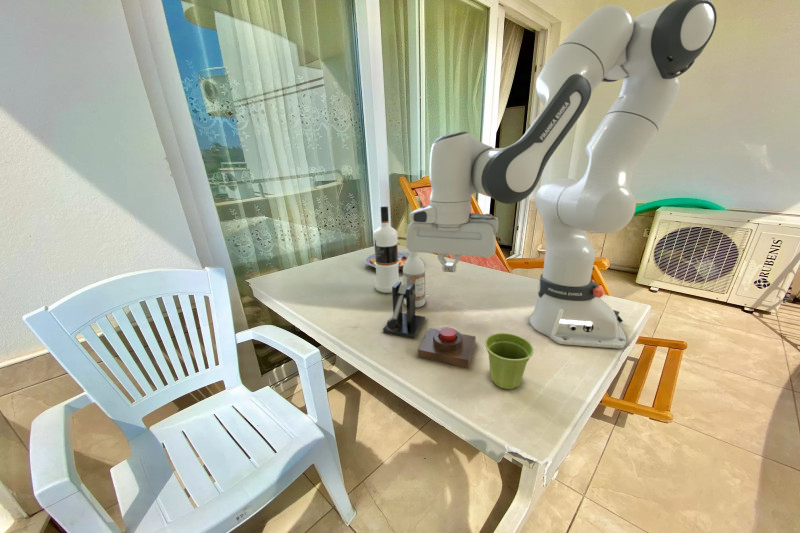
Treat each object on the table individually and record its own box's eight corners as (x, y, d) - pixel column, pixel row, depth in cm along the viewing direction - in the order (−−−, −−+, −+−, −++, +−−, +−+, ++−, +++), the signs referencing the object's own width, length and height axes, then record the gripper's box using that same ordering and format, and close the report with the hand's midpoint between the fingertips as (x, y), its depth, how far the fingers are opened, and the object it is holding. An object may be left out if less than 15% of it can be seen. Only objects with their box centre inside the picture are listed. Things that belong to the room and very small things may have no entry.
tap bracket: (413, 338, 80) (413, 295, 76) (383, 332, 84) (380, 290, 79) (425, 320, 89) (425, 280, 85) (396, 315, 92) (395, 276, 88)
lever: (398, 334, 77) (395, 329, 75) (387, 331, 78) (383, 326, 76) (411, 290, 84) (409, 284, 81) (401, 289, 85) (398, 283, 82)
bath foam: (412, 310, 95) (410, 249, 88) (399, 302, 100) (397, 244, 93) (429, 304, 98) (429, 245, 91) (416, 296, 104) (415, 240, 97)
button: (457, 334, 75) (457, 328, 74) (454, 343, 72) (454, 337, 71) (441, 331, 76) (441, 325, 76) (437, 340, 73) (437, 334, 72)
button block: (475, 343, 77) (475, 330, 76) (468, 368, 69) (468, 353, 67) (429, 335, 82) (429, 322, 80) (418, 357, 73) (417, 343, 72)
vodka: (401, 293, 107) (399, 207, 96) (375, 294, 106) (369, 209, 96) (399, 282, 115) (396, 203, 105) (375, 284, 115) (370, 204, 104)
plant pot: (479, 389, 63) (482, 354, 60) (484, 361, 71) (487, 329, 68) (528, 400, 59) (534, 364, 56) (528, 370, 68) (532, 337, 64)
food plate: (432, 263, 134) (432, 256, 133) (395, 279, 118) (395, 271, 117) (392, 252, 150) (391, 245, 149) (355, 265, 135) (354, 258, 133)
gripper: (500, 211, 66) (496, 270, 71) (411, 209, 73) (413, 263, 78) (498, 217, 60) (493, 281, 65) (402, 214, 68) (404, 271, 72)
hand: (449, 271), depth 72 cm, fingers closed
